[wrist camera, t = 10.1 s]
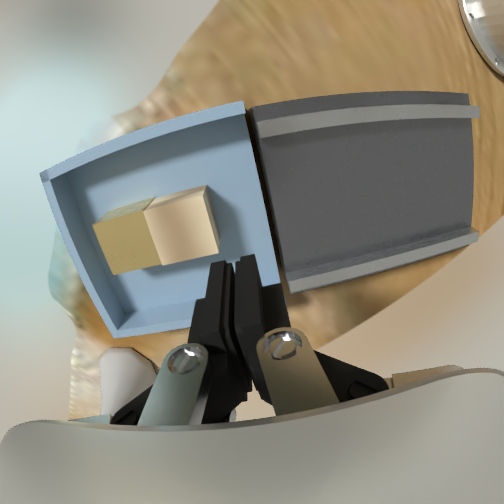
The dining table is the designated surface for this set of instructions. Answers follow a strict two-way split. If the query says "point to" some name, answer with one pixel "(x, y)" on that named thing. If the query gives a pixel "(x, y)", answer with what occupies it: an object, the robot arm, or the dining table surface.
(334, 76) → the dining table surface
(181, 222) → the beige square block
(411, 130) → the slot block
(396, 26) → the dining table surface
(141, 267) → the olive yellow block
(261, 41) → the dining table surface
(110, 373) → the flask
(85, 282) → the tray
